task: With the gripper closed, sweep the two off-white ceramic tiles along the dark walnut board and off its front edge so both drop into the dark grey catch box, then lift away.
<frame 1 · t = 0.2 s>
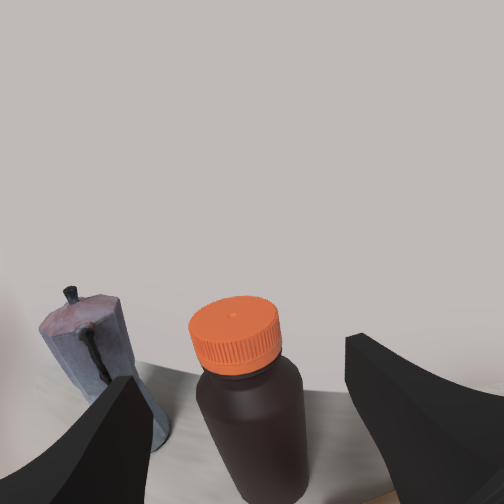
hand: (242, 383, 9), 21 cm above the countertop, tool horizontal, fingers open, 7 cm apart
bottle: (273, 484, 22), on the countertop
moka pot: (141, 434, 30), on the countertop
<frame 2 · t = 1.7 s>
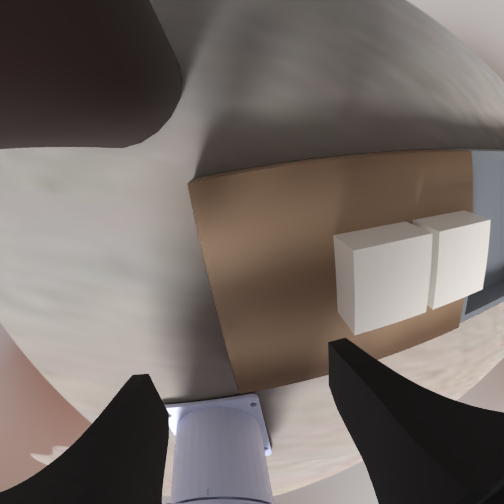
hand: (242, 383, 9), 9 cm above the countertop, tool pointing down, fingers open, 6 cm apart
catch box: (484, 226, 19), on the countertop
walnut board: (348, 258, 18), on the countertop
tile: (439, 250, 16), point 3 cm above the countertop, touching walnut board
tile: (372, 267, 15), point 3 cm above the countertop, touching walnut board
bottle: (126, 92, 14), on the countertop
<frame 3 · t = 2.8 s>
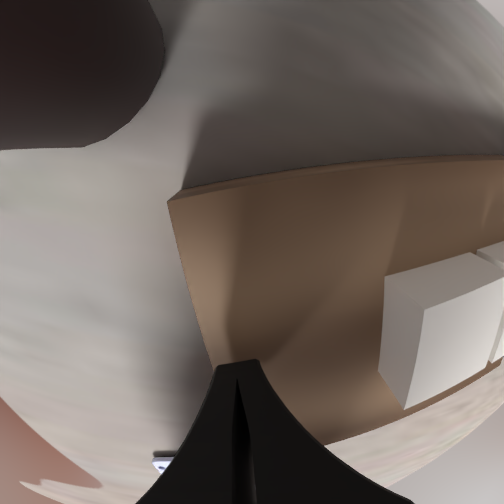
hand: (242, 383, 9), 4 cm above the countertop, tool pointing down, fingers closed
walnut board: (388, 294, 13), on the countertop
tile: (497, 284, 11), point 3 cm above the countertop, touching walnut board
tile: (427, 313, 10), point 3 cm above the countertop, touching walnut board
bottle: (90, 71, 9), on the countertop
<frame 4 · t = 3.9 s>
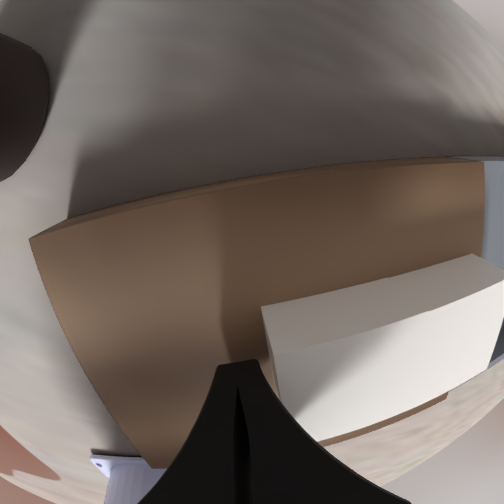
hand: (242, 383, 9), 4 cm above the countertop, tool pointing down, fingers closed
catch box: (493, 261, 14), on the countertop
walnut board: (287, 321, 13), on the countertop
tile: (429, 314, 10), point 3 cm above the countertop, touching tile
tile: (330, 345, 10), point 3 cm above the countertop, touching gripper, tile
bottle: (2, 113, 9), on the countertop
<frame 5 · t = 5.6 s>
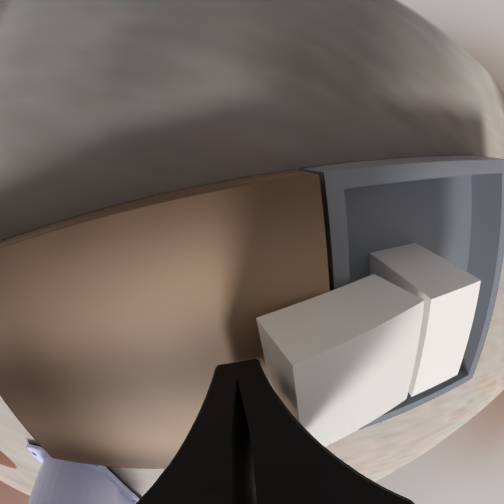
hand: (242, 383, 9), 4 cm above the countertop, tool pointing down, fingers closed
catch box: (405, 290, 13), on the countertop
walnut board: (132, 346, 13), on the countertop
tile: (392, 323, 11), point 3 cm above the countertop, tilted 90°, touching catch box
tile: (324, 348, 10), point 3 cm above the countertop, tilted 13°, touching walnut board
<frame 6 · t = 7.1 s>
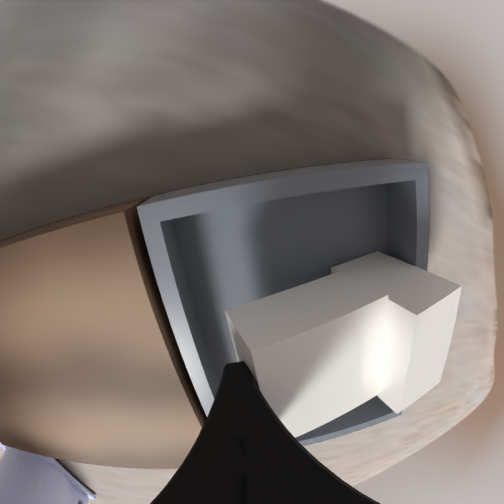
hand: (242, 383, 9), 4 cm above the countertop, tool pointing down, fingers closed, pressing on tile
catch box: (299, 318, 13), on the countertop
walnut board: (46, 353, 12), on the countertop
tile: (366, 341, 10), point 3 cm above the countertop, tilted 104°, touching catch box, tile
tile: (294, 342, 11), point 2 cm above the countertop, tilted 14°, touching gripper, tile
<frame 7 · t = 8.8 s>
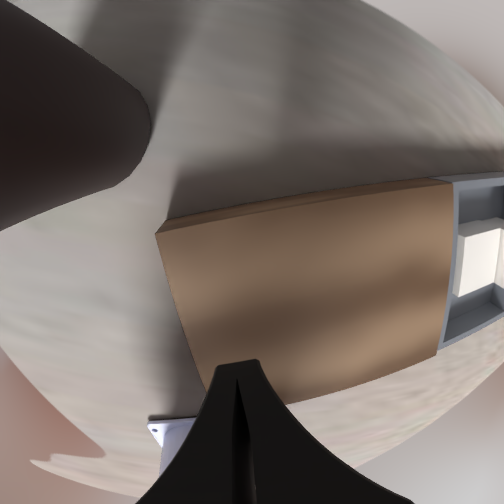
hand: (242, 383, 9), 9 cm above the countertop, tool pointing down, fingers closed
catch box: (468, 252, 20), on the countertop
walnut board: (321, 292, 19), on the countertop
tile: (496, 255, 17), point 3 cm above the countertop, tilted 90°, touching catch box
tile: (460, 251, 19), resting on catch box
bottle: (99, 133, 15), on the countertop
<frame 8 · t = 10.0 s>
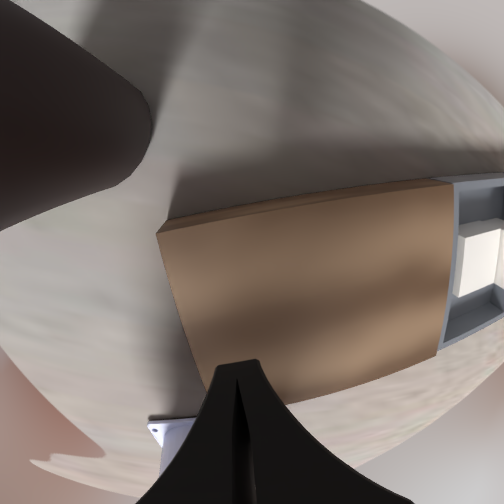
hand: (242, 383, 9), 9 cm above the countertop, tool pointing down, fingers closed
catch box: (468, 252, 20), on the countertop
walnut board: (321, 292, 19), on the countertop
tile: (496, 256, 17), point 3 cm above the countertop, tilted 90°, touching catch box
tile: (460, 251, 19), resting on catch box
bottle: (100, 133, 15), on the countertop
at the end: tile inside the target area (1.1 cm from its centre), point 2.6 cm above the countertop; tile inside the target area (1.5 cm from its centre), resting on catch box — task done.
